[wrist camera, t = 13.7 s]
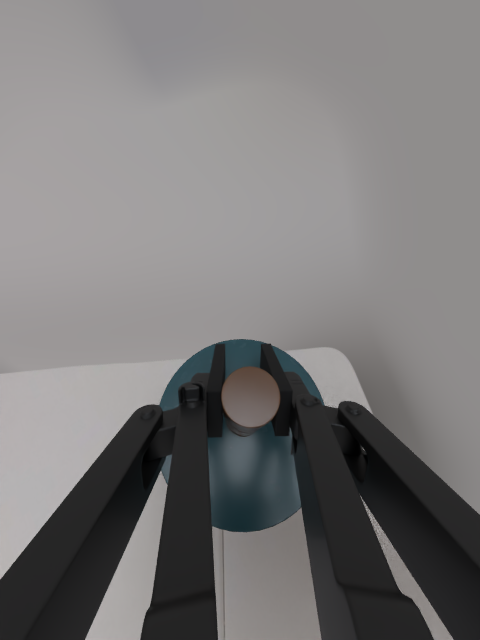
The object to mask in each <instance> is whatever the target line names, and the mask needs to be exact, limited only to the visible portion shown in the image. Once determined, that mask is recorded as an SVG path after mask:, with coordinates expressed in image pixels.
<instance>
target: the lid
mask: <svg viewBox="0 0 480 640" xmlns="http://www.w3.org/2000/svg"><path fill="white" fill-rule="evenodd" d="M216 344H225V373H226V376H225V382H224V384H223V387H222V391H221V402H222V407H223V412H224V413H223V431H222V437H213V438H208V432H207V438H208V458H209V479H210V499H211V519H212V526H214V527H216V528H219V529H223V530H227V531H232V532H252V531H260V530H263V529H266V528H269V527H273V526H275V525H277V524H279V523H281V522H283V521H285V520H286V519H287V518H289V517H290V516H292V515H293V514H294V513H296V512H297V511H298V510H299V509H300V508H301V501H300V494H299V488H298V481H297V475H296V468H295V461H294V455H291V443H292V432H291V429H290V433H289V436H275V434H274V430H273V426H272V422H271V420H272V419H273V418H274V417H275V415H276V414H277V412H278V409H279V406H280V390H279V387H278V385H277V383H276V381H275V380H274V378H273V377H272V376H271V375H270V374H269V373H268V372H266V371H265V370H263V369H261V368H260V356H261V344H267V343H263V342H260V341H255V340H246V339H239V340H238V339H237V340H229V341H223V342H219V343H216ZM271 346H272V345H271ZM272 348H273V350H274V352H275V354H276V356H277V358H278V360H279V362H280V365H281V367H282V369H283V371H284V372H295V373H296V374H298V375H299V376H300V378H301V379H302V381H303V383H304V384H305V386H306V388H307V389H308V391H309V393H310V394H311V395H313V396H315V397H317V398H318V399H319V400H320V401H321V402H322V405H324V402H323V400H322V397H321V394H320V392H319V390H318V388H317V386H316V385H315V383H314V381H313V380H312V378H311V377H310V375H309V374H308V373H307V371H306V370H305V369H304V368H303V367H302V366H301V365H300V364H299V363H298V362H297V361H296V360H295V359H294V358H292V357H291V356H290V355H288V354H287V353H286V352H284V351H282V350H280V349H279V348H277V347H274V346H272ZM214 349H215V344H213V345H211V346H209V347H206V348H204V349H203V350H201V351H199V352H198V353H196V354H195V355H193V356H192V357H191V358H189V359H188V360H187V361H186V362H185V363H184V364H183V365H182V366H181V367H180V368H179V369H178V371H177V372H176V373H175V374H174V376H173V377H172V379H171V380H170V382H169V384H168V385H167V387H166V390H165V392H164V394H163V396H162V399H161V402H160V405H159V406H160V407H161V408H162V410H163V411H167V410H171V409H174V408H176V407H178V406H179V397H178V389H179V387H180V386H181V385H182V384H185V383H187V382H191V379H192V377H193V376H194V375H195V374H196V373H210V370H211V365H212V360H213V354H214ZM324 406H325V405H324ZM171 458H172V455H169V456H166V460H165V462H164V464H163V466H162V469H161V471H162V474H163V476H164V478H165V481H166V483H167V485H168V479H169V472H170V465H171Z"/></svg>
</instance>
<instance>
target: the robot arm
mask: <svg viewBox="0 0 480 640" xmlns="http://www.w3.org/2000/svg"><path fill="white" fill-rule="evenodd" d="M260 368H261V369H263V370H265V371H266V372H268V373H269V374H270V375H271V376H272V377H273V378H274V380H275V381H276V383H277V385H278V387H279V390H280V406H279V409H278V412H277V414H276V415H275V417H274V418H273V419H272V420H271V422H272V426H273V430H274V434H275V436H289V433H290V429H291V432H292V443H291V455H294V461H295V468H296V475H297V481H298V488H299V494H300V501H301V507H302V514H303V520H304V527H305V533H306V540H307V546H308V553H309V559H310V566H311V573H312V579H313V586H314V592H315V599H316V605H317V612H318V618H319V625H320V631H321V638H322V640H434V639H433V637H432V635H431V632H430V630H429V628H428V626H427V624H426V622H425V620H424V618H423V616H422V614H421V612H420V610H419V608H418V607H417V606H416V604H415V603H414V602H413V600H412V599H411V598H409V597H407V596H405V595H404V594H402V592H401V591H400V590H399V588H398V586H397V584H396V582H395V580H394V577H393V575H392V572H391V570H390V568H389V565H388V563H387V560H386V558H385V555H384V553H383V551H382V548H381V546H380V543H379V541H378V538H377V536H376V534H375V531H374V529H373V526H372V524H371V521H370V519H369V517H368V514H367V512H366V509H365V507H364V504H363V502H362V500H361V497H362V499H363V500H364V502H365V503H366V505H367V506H368V508H369V509H370V511H371V513H372V514H373V516H374V517H375V519H376V520H377V522H378V523H379V525H380V526H381V528H382V530H383V531H384V533H385V534H386V536H387V537H388V539H389V540H390V542H391V543H392V545H393V547H394V548H395V550H396V551H397V553H398V554H399V556H400V557H401V559H402V560H403V562H404V563H405V565H406V567H407V568H408V570H409V571H410V573H411V574H412V576H413V577H414V579H415V580H416V582H417V584H418V585H419V587H420V588H421V590H422V591H423V593H424V594H425V596H426V597H427V599H428V601H429V602H430V604H431V605H432V607H433V608H434V610H435V611H436V613H437V614H438V616H439V618H440V619H441V621H442V622H443V624H444V625H445V627H446V628H447V630H448V631H449V633H450V634H451V636H452V638H453V639H454V640H480V515H479V514H478V513H477V512H476V511H475V510H474V509H473V508H472V507H471V506H470V505H469V504H467V503H466V502H465V501H464V500H463V499H462V498H461V497H460V496H459V495H458V494H457V493H456V492H455V491H454V490H452V489H451V488H450V487H449V486H448V485H447V484H446V483H445V482H444V481H443V480H442V479H441V478H439V476H437V475H436V474H435V473H434V472H433V471H432V470H431V469H430V468H429V467H428V466H427V465H426V464H425V463H424V462H423V461H421V460H420V459H419V458H418V457H417V456H416V455H415V454H414V453H413V452H412V451H411V450H410V449H409V448H408V447H406V446H405V445H404V444H403V443H402V442H401V441H400V440H399V439H398V438H397V437H396V436H395V435H394V434H393V433H391V432H390V431H389V430H388V429H387V428H386V427H385V426H384V425H383V424H382V423H381V422H380V421H379V420H378V419H376V418H375V417H374V416H373V415H372V414H371V413H370V412H369V411H368V410H367V409H366V408H365V407H363V406H362V405H360V404H358V403H355V402H351V401H344V402H341V403H340V404H339V407H338V408H332V407H328V406H324V405H322V402H321V401H320V400H319V399H318V398H317V397H315V396H313V395H311V394H310V393H309V391H308V389H307V388H306V386H305V384H304V383H303V381H302V379H301V378H300V376H299V375H298V374H296V373H295V372H284V371H283V369H282V367H281V365H280V362H279V360H278V358H277V356H276V354H275V352H274V350H273V348H272V346H271V344H261V356H260ZM225 376H226V373H225V344H215V349H214V354H213V360H212V365H211V370H210V373H196V374H195V375H194V376H193V377H192V379H191V382H187V383H185V384H182V385H181V386H180V387H179V389H178V397H179V406H178V407H176V408H174V409H171V410H167V411H163V410H162V408H161V407H160V406H159V405H146V406H143V407H141V408H139V409H137V410H136V411H135V412H134V413H133V414H132V416H131V417H130V418H129V419H128V421H127V422H126V423H125V424H124V426H123V427H122V428H121V429H120V431H119V432H118V433H117V434H116V436H115V437H114V438H113V439H112V441H111V442H110V443H109V444H108V446H107V447H106V448H105V449H104V451H103V452H102V453H101V454H100V456H99V457H98V458H97V459H96V461H95V462H94V463H93V464H92V466H91V467H90V468H89V469H88V471H87V472H86V473H85V474H84V476H83V477H82V478H81V479H80V481H79V482H78V483H77V484H76V486H75V487H74V488H73V489H72V491H71V492H70V493H69V494H68V496H67V497H66V498H65V499H64V501H63V502H62V503H61V504H60V506H59V507H58V508H57V509H56V511H55V512H54V513H53V514H52V516H51V517H50V518H49V519H48V521H47V522H46V523H45V524H44V526H43V527H42V528H41V529H40V531H39V532H38V533H37V534H36V536H35V537H34V538H33V539H32V541H31V542H30V543H29V544H28V546H27V547H26V548H25V549H24V551H23V552H22V553H21V554H20V556H19V557H18V558H17V559H16V561H15V562H14V563H13V564H12V566H11V567H10V568H9V569H8V571H7V572H6V573H5V574H4V576H3V577H2V578H1V579H0V640H85V638H86V636H87V634H88V631H89V629H90V627H91V625H92V622H93V620H94V618H95V616H96V614H97V611H98V609H99V607H100V605H101V602H102V600H103V598H104V596H105V593H106V591H107V589H108V587H109V585H110V582H111V580H112V578H113V576H114V573H115V571H116V569H117V567H118V564H119V562H120V560H121V558H122V556H123V553H124V551H125V549H126V547H127V544H128V542H129V540H130V538H131V535H132V533H133V531H134V529H135V527H136V524H137V522H138V520H139V518H140V515H141V513H142V511H143V509H144V506H145V504H146V502H147V500H148V498H149V495H150V493H151V491H152V489H153V486H154V484H155V482H156V480H157V478H158V475H159V473H160V471H161V469H162V466H163V464H164V462H165V460H166V456H169V455H172V458H171V465H170V472H169V479H168V487H167V494H166V501H165V508H164V515H163V522H162V530H161V537H160V544H159V551H158V558H157V565H156V573H155V580H154V587H153V594H152V600H151V604H150V607H149V609H148V610H147V612H146V615H145V619H144V623H143V628H142V634H141V639H140V640H218V631H217V612H216V594H215V580H214V559H213V539H212V519H211V499H210V479H209V458H208V438H213V437H222V431H223V413H224V412H223V407H222V402H221V391H222V387H223V384H224V382H225ZM207 432H208V438H207ZM363 448H364V450H365V451H364V450H363ZM359 494H360V495H359ZM360 496H361V497H360Z"/></svg>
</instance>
